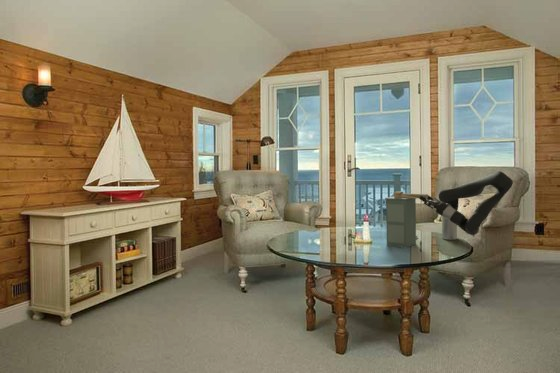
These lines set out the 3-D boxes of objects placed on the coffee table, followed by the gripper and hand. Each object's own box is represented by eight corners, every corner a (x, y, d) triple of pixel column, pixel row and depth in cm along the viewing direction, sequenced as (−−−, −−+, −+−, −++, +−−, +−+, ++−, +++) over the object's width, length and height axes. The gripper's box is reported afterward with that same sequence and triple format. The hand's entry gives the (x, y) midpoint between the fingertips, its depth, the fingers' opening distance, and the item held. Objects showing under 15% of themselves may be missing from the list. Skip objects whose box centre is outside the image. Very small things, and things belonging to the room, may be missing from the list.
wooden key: (397, 196, 264) (397, 191, 264) (428, 198, 250) (428, 192, 250) (393, 197, 260) (393, 192, 260) (424, 198, 247) (424, 193, 247)
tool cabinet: (396, 241, 272) (396, 196, 270) (417, 243, 262) (416, 196, 261) (385, 245, 261) (385, 198, 259) (406, 248, 251) (406, 198, 249)
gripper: (454, 204, 245) (430, 190, 254) (445, 207, 234) (421, 192, 243) (447, 215, 248) (424, 200, 257) (438, 218, 237) (415, 202, 246)
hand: (423, 196), depth 250 cm, fingers open, 8 cm apart
